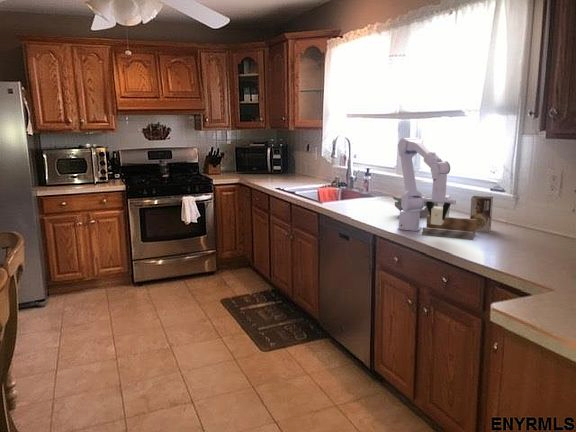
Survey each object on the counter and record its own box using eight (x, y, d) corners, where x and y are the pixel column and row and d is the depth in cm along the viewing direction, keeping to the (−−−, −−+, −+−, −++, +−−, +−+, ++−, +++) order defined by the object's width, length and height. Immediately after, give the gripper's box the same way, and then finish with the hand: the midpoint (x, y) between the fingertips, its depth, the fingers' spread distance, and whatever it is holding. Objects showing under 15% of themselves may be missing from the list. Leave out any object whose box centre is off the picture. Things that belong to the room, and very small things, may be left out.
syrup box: (437, 221, 246) (438, 194, 243) (449, 222, 243) (450, 195, 240) (434, 223, 241) (436, 195, 238) (446, 225, 238) (448, 196, 235)
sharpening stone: (434, 213, 267) (435, 194, 264) (441, 216, 259) (442, 196, 257) (392, 215, 263) (393, 196, 261) (397, 218, 256) (398, 198, 254)
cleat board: (421, 234, 219) (422, 219, 217) (426, 229, 229) (427, 215, 227) (472, 239, 209) (473, 224, 207) (475, 234, 219) (476, 219, 217)
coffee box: (491, 229, 227) (493, 196, 224) (489, 232, 222) (491, 198, 219) (471, 227, 232) (473, 195, 229) (468, 230, 227) (471, 197, 223)
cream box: (430, 224, 209) (431, 208, 208) (433, 221, 215) (434, 206, 213) (441, 225, 207) (441, 209, 205) (443, 222, 213) (444, 207, 211)
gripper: (420, 189, 208) (419, 219, 211) (454, 191, 201) (452, 222, 204) (424, 187, 214) (422, 216, 217) (457, 189, 207) (455, 219, 210)
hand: (437, 219), depth 211 cm, fingers closed on cream box, 5 cm apart
